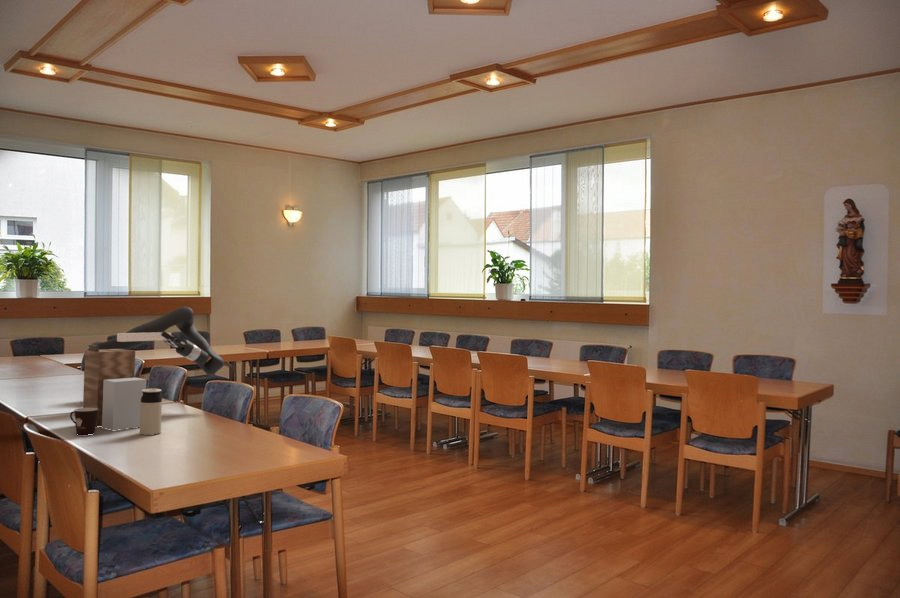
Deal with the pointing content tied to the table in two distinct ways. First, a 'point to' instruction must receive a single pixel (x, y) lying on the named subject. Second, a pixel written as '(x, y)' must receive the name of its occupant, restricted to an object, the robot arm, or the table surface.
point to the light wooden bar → (141, 336)
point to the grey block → (122, 402)
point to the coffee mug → (85, 420)
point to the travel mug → (150, 411)
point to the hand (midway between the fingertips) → (160, 333)
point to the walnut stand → (104, 373)
